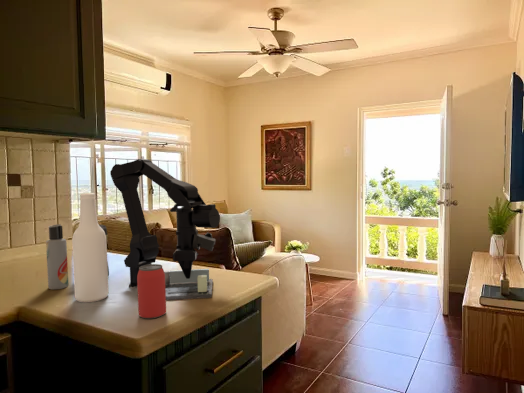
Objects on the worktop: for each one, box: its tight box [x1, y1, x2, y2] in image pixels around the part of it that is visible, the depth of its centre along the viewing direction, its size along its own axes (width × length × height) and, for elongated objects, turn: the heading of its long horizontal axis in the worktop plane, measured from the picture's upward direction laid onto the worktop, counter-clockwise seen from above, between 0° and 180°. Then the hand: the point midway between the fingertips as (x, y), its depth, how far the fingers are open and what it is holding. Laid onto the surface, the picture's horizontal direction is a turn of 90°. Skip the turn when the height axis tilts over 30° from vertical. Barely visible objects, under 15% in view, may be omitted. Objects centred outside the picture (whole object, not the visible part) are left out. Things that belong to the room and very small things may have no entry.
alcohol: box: [71, 192, 109, 303], centre depth 107 cm, size 9×9×30 cm
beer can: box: [136, 263, 167, 320], centre depth 93 cm, size 7×7×12 cm
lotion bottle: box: [45, 223, 69, 290], centre depth 120 cm, size 6×6×20 cm
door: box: [164, 268, 210, 284], centre depth 117 cm, size 14×2×4 cm, turn 96°
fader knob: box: [197, 275, 207, 292], centre depth 108 cm, size 2×3×4 cm
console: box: [165, 278, 214, 301], centre depth 112 cm, size 15×16×1 cm
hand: (188, 278), depth 113 cm, fingers closed
